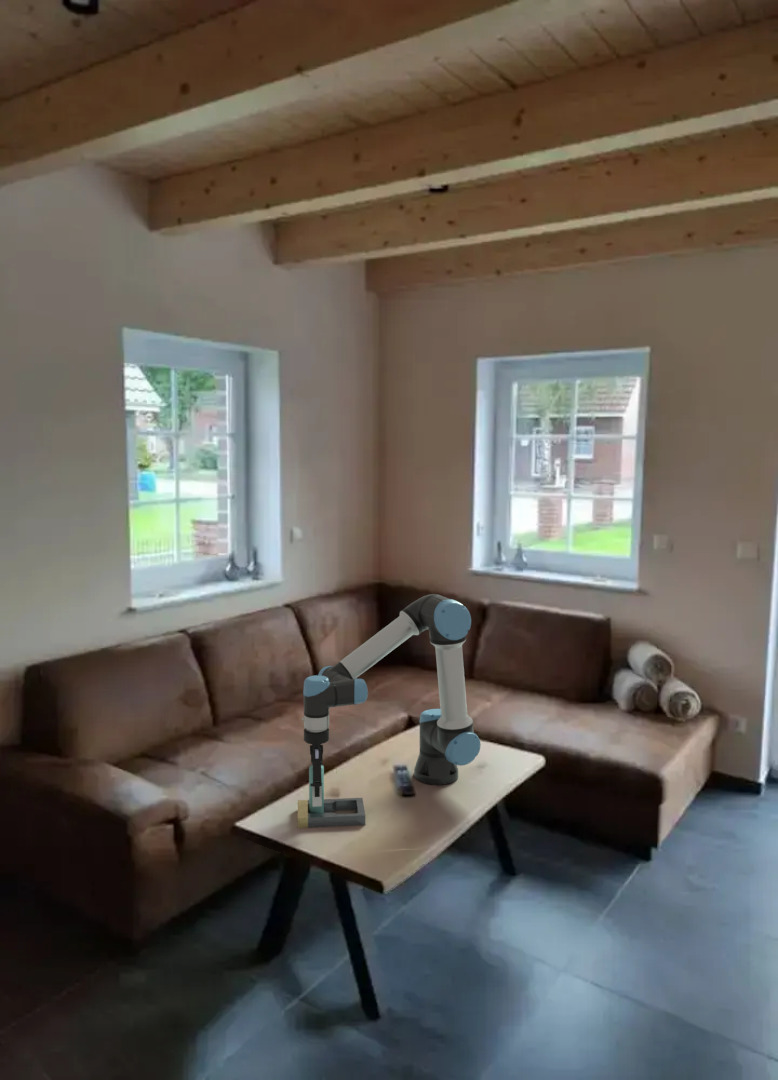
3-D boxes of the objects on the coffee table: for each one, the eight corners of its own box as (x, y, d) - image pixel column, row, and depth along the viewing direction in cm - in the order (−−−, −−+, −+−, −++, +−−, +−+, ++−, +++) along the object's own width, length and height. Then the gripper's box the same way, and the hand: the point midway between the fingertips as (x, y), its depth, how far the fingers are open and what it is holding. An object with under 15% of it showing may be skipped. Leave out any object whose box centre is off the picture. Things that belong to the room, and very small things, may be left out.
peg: (323, 814, 241) (323, 764, 239) (324, 820, 237) (324, 769, 235) (309, 814, 240) (309, 764, 239) (309, 821, 236) (309, 770, 234)
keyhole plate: (362, 806, 246) (362, 797, 246) (365, 824, 234) (365, 815, 234) (298, 809, 244) (297, 800, 244) (297, 828, 232) (297, 818, 232)
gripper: (303, 714, 247) (304, 779, 250) (303, 743, 223) (304, 815, 225) (327, 713, 248) (327, 778, 250) (330, 743, 223) (330, 814, 226)
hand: (316, 796), depth 238 cm, fingers open, 13 cm apart
